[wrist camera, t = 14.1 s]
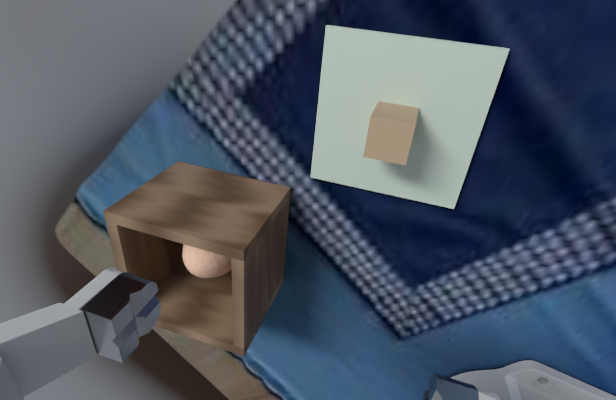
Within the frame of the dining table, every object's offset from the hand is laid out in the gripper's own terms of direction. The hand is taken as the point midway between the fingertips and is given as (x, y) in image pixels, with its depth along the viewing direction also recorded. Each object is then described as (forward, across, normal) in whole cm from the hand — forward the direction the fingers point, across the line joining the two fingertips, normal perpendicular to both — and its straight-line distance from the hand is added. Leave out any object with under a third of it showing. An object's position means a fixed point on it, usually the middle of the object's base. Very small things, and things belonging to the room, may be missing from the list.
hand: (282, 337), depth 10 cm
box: (+22, +13, +14) cm, 29 cm away
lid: (+23, -1, 0) cm, 23 cm away
